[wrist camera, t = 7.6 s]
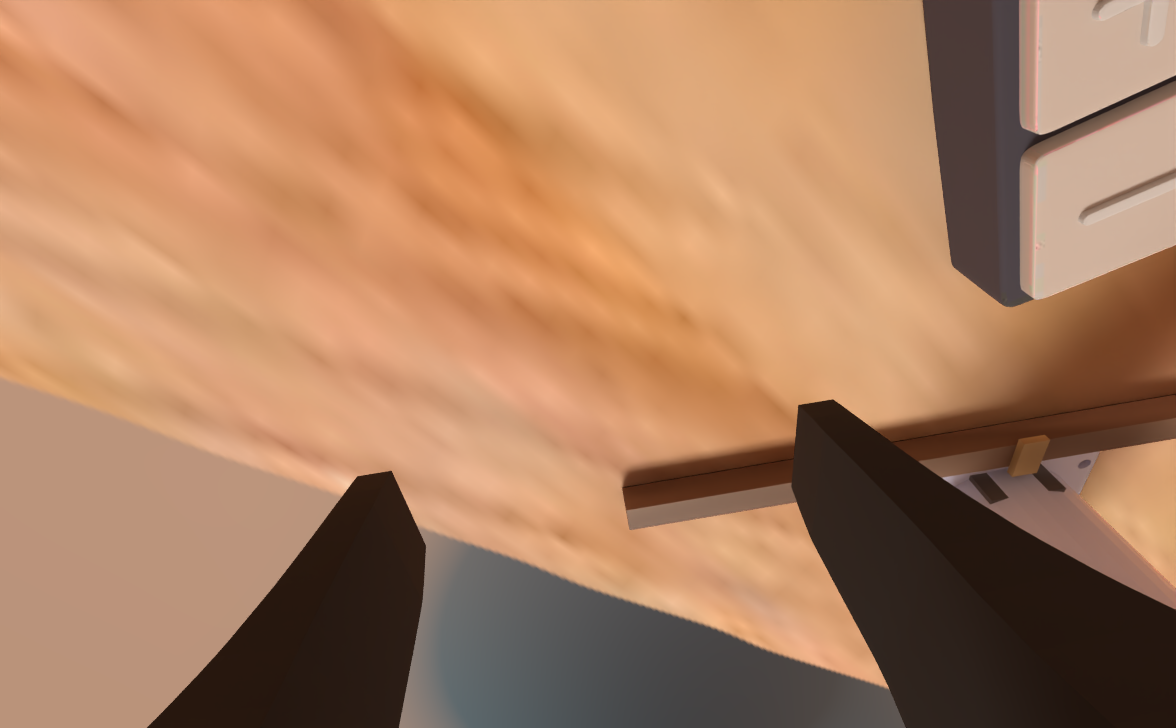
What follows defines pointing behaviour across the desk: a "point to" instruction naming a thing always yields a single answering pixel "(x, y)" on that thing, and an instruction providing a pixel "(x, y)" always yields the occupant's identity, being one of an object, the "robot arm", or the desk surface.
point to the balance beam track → (921, 461)
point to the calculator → (1053, 137)
